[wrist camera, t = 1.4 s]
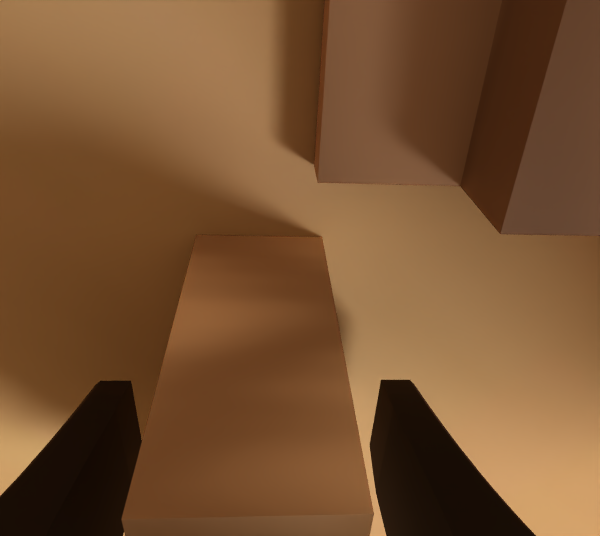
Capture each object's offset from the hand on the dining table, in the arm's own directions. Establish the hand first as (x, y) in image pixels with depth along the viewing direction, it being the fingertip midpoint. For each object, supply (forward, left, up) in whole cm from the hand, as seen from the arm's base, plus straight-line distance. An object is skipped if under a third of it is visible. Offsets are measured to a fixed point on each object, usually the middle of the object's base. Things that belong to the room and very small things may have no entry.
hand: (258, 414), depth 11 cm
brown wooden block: (0, 0, -2) cm, 2 cm away
